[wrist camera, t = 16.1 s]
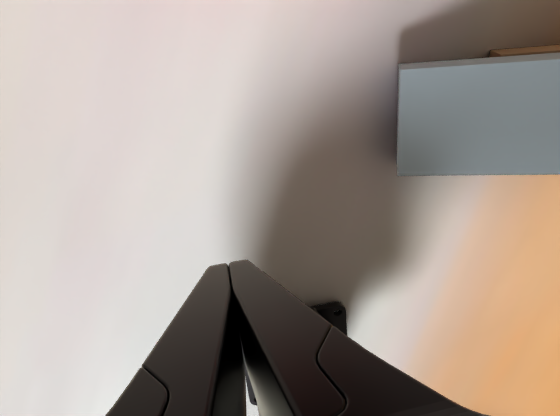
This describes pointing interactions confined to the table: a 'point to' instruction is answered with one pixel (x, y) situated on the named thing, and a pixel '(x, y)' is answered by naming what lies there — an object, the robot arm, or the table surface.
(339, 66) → the table surface
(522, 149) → the domino
